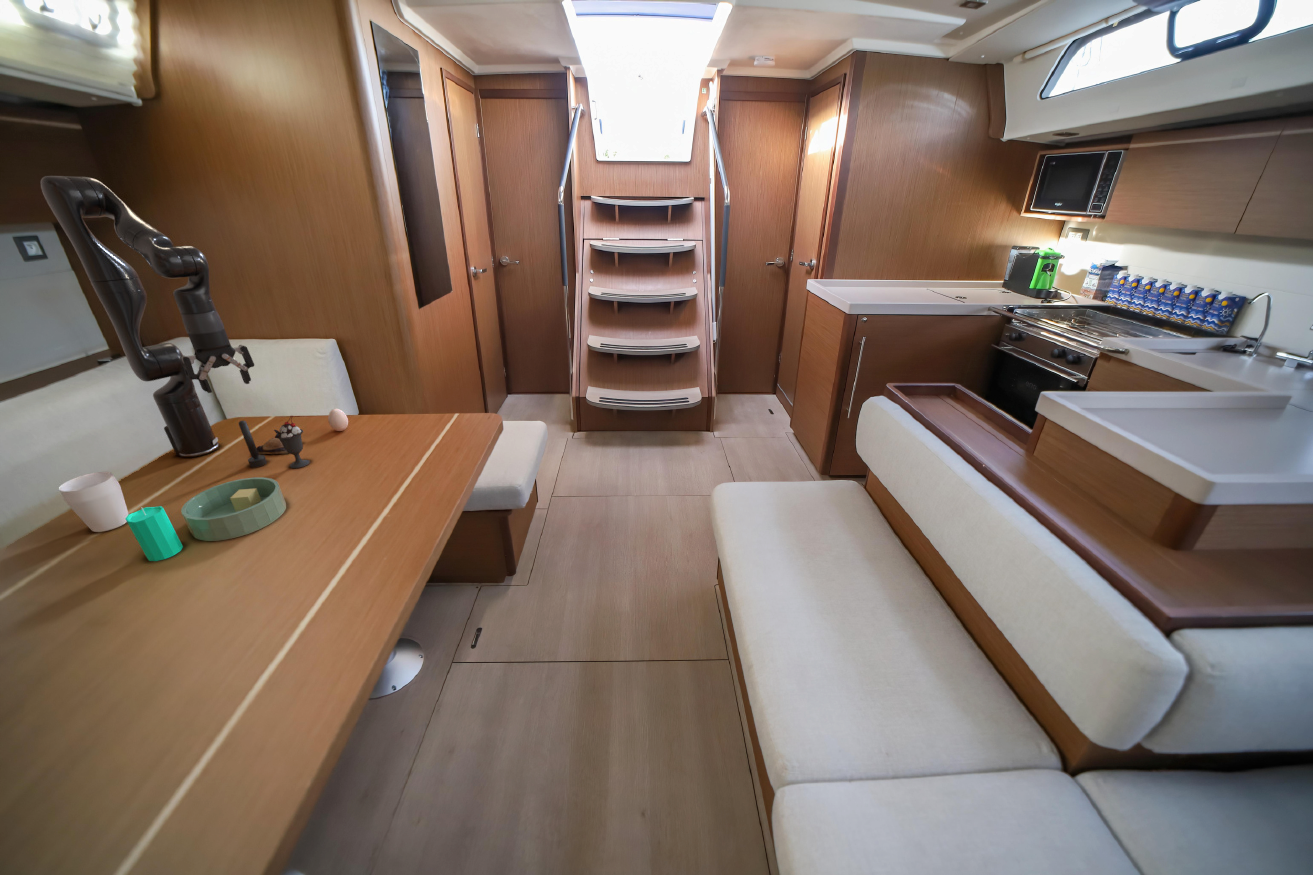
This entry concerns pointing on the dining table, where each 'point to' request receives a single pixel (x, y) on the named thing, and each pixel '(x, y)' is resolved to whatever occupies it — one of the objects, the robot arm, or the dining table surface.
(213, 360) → the robot arm
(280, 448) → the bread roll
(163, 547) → the candle
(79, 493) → the cup
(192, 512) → the bowl
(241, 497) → the block
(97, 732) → the dining table surface
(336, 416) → the egg
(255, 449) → the dark grey plunger
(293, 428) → the sundae
